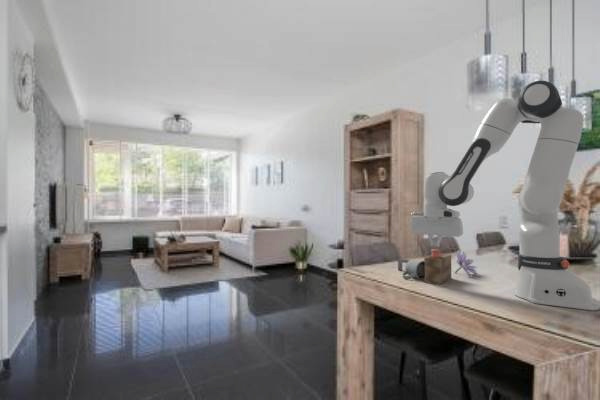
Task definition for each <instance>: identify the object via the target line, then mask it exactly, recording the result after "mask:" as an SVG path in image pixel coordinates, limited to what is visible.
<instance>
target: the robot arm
mask: <svg viewBox="0 0 600 400" xmlns="http://www.w3.org/2000/svg"><path fill="white" fill-rule="evenodd" d="M562 105H563V101H562V98H561V94H560V93H559V91H558V87H556V86H555V85H554V83H552V82H550V81H547V80H536V81H532V82H530V83H528V84H527V85H526V86H525V87H523V88H522V90H521V91H520V92H519V95H518V99H509V98H502V99H499V100H497V101H495V102H494V104H493V105H492V106H491V107H490V108H489V110H488V111H487V112H486V114H485V115H484V117H483V118H482V120H481V122H480V123H479V125H478V127H477V129H476V131H475V133H474V135H473V138H472V140H471V142H470V144H469V146H468V148H467V150H466V152H465V154H464V155H463V157H462V158H461V160H460V162H459V163H458V165H457V167H456V169H455V170H454V171H453V173H452V174H451V175H449V174H447V173H445V172H444V171H437V172H432V173H429V174H427V175H426V176H425V178H424V181H423V198H424V202H423V211H414V212H412V213H411V214H410V216H409V217H410V218H409V219H410V223H409V232H410V233H411V234H414V235H426V236H427V238H428V240H429V241H430V246H431V247H438V248H439V247H440V243H441V241H442V239H443V238H444V237H456V238H457V237H458V238H459V237H461V236H462V235H463V234H464V229H463V227H464V226H463V221H462V220H461V218H460V216H461V214H460V211H458V210H454V209H452V208H448V206H449V207H455V206H460V205H463V204H466V203H468V202H470V201H471V200H472V198H473V196H474V194H475V193H474V192H475V191H474V187H473V185H472V184H471V181H472V179H473V178H474V176H475V174H476V173H477V172H478V170H479V168H480V167H481V165H482V164H483V163H484V161H486V159H488V158H489V157H490V156H492V155H494V154H496V153H498V152H500V150H501V149H502V148H503V147H504V146H505V145H506V143H507V142H508V140H509V139H510V137H511V135H512V134H513V132H514V131H515V129H516V128H517V126H518V125H519V124H520V123H522V124H540V131H539V132H538V133H539V134H538V137H537V140H536V143H535V146H534V148H533V149H534V150H533V153H532V156H531V158H530V162H529V164H528V168H527V172H526V176H525V178H524V181H523V185H522V188H521V191H520V192H519V195H518V227H519V228H518V229H519V231H518V232H519V238H518V239H519V245H518V246H519V253H518V254H517V269H518V276H517V283H516V287H515V291H514V295H515V296H516V297H519V298H521V299H525V300H528V302H531V303H533V304H538V305H545V306H546V305H547V306H556V307H562V308H563V307H564V308H571V309H577V310H578V309H579V310H587V311H598V310H600V300H599V299H598V298H596V297H593V295H592V290H591V288H590V286H589V284H588V283H587V281H585V280H584V279H582V278H581V277H580V276H578V275H577V274H575V273H574V272H572V271H571V270H569V265H570V263H569V261H568V260H567V259H566V258H564V257H562V256H561V249H560V247H561V245H560V242H561V241H560V238H561V237H560V235H561V234H560V227H559V217H558V216H559V215H558V209H559V207H560V206H561V204H562V201H563V198H564V196H565V191H566V187H567V183H568V180H569V175H570V171H571V168H572V164H573V161H574V159H575V157H576V153H577V149H578V148H579V143H580V140H581V137H582V132H583V128H584V127H583V126H584V115H583V113H582V112H581V111H579V110H577V109H576V108H573V107H572V108H571V107H564V106H562ZM434 236H436V237H437V240H436V241H435V240H434V239H433V238H434Z"/></svg>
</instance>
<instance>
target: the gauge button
mask: <svg viewBox="0 0 600 400" xmlns="http://www.w3.org/2000/svg"><path fill="white" fill-rule="evenodd" d="M430 252H431V255H432V258H440V254H441V249H436V248H433V249H431V250H430Z"/></svg>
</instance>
